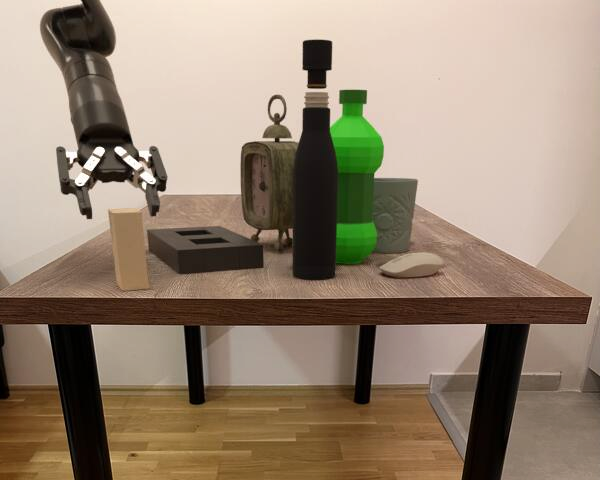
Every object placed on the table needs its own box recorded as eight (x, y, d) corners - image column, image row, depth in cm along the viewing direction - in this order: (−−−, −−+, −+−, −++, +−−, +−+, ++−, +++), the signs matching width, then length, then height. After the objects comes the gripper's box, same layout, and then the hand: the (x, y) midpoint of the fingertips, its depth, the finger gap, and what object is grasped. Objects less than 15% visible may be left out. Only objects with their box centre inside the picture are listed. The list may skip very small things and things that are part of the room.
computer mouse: (373, 272, 98) (374, 252, 96) (429, 267, 101) (431, 248, 99) (392, 279, 93) (393, 258, 91) (450, 275, 96) (452, 254, 94)
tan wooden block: (122, 291, 86) (113, 212, 81) (116, 284, 89) (107, 209, 85) (149, 288, 87) (141, 211, 82) (142, 282, 91) (135, 208, 86)
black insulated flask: (343, 277, 94) (352, 40, 81) (306, 281, 91) (309, 36, 78) (320, 269, 99) (325, 45, 86) (284, 273, 96) (283, 42, 83)
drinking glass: (381, 255, 110) (385, 181, 105) (346, 247, 118) (348, 178, 113) (424, 250, 115) (430, 179, 110) (388, 243, 123) (392, 176, 118)
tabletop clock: (242, 243, 122) (237, 95, 111) (284, 239, 126) (284, 97, 115) (274, 255, 110) (272, 92, 100) (319, 251, 114) (322, 93, 103)
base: (179, 274, 96) (177, 250, 94) (148, 249, 115) (146, 229, 113) (263, 267, 101) (263, 244, 99) (221, 245, 120) (220, 225, 118)
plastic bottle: (386, 265, 102) (398, 89, 91) (323, 267, 100) (327, 87, 89) (368, 254, 111) (376, 92, 100) (309, 256, 109) (311, 91, 98)
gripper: (44, 97, 84) (65, 196, 80) (151, 99, 89) (177, 193, 85) (48, 140, 91) (68, 234, 87) (148, 140, 96) (171, 229, 92)
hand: (122, 214), depth 86 cm, fingers open, 8 cm apart
